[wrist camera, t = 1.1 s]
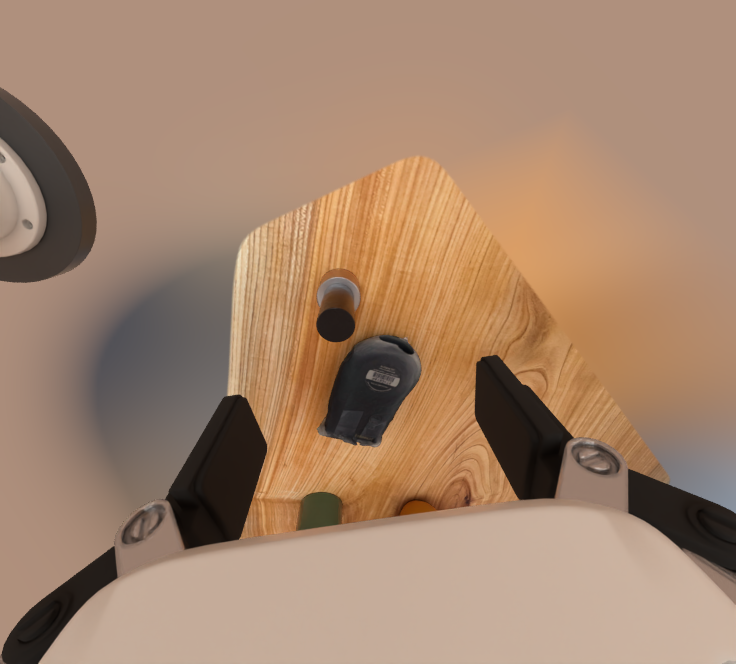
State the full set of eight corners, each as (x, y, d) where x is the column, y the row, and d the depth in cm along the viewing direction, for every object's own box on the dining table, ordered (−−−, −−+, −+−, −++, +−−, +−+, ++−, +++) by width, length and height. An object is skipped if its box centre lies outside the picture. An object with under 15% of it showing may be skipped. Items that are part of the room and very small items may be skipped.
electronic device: (385, 423, 42) (433, 346, 34) (382, 458, 37) (437, 378, 29) (324, 402, 41) (358, 318, 33) (313, 435, 36) (349, 346, 28)
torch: (312, 292, 31) (298, 332, 23) (333, 260, 29) (327, 289, 21) (345, 313, 32) (343, 357, 24) (367, 283, 30) (373, 319, 22)
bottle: (291, 510, 48) (264, 662, 32) (313, 486, 45) (295, 639, 30) (327, 522, 50) (318, 670, 35) (350, 501, 47) (350, 650, 32)
